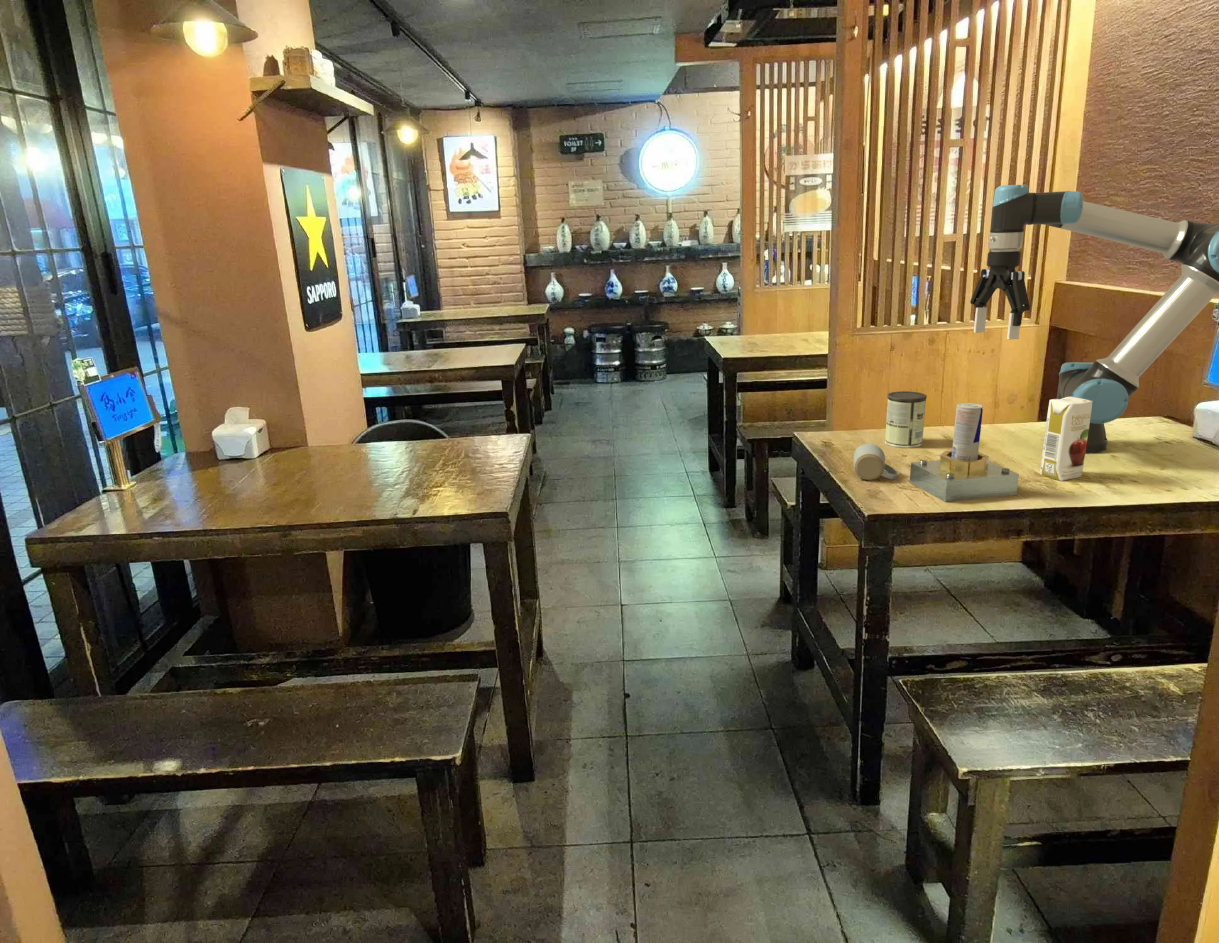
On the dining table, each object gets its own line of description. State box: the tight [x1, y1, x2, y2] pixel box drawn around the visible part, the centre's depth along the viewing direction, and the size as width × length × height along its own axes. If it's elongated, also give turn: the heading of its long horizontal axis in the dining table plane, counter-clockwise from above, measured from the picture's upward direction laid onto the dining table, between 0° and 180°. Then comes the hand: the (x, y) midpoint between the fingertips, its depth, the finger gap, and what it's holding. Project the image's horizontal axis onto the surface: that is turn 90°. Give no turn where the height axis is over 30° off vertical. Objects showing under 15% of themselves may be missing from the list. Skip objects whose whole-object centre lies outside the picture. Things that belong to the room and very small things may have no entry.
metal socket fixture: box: [909, 450, 1020, 503], centre depth 190 cm, size 18×15×8 cm
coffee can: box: [884, 390, 928, 449], centre depth 228 cm, size 10×10×14 cm
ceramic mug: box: [853, 443, 899, 481], centre depth 200 cm, size 11×8×8 cm
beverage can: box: [951, 402, 984, 461], centre depth 187 cm, size 6×6×15 cm
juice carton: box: [1039, 396, 1093, 481], centre depth 195 cm, size 8×9×19 cm
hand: (995, 335), depth 208 cm, fingers open, 13 cm apart
